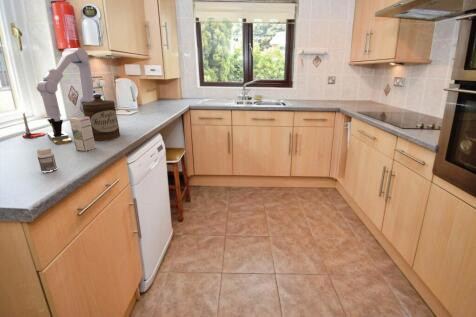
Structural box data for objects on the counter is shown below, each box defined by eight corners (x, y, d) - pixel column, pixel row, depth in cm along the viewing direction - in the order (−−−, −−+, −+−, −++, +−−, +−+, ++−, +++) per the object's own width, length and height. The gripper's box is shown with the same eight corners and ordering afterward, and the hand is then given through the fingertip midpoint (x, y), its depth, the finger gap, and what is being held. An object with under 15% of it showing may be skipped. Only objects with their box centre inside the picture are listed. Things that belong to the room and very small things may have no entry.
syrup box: (96, 148, 125) (90, 116, 120) (85, 152, 120) (78, 118, 115) (86, 147, 127) (80, 115, 122) (75, 150, 122) (68, 118, 117)
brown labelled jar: (98, 143, 133) (89, 96, 126) (83, 138, 141) (74, 94, 134) (125, 136, 144) (119, 93, 137) (110, 132, 152) (103, 92, 145)
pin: (61, 136, 143) (59, 122, 140) (63, 138, 140) (61, 123, 138) (52, 137, 140) (49, 123, 138) (54, 139, 138) (51, 124, 135)
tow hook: (35, 134, 153) (20, 138, 145) (30, 111, 150) (15, 113, 141) (49, 135, 152) (35, 138, 143) (44, 111, 148) (29, 113, 140)
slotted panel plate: (63, 135, 149) (62, 130, 148) (72, 141, 136) (71, 137, 135) (48, 137, 145) (47, 132, 144) (55, 144, 131) (54, 139, 131)
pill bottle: (46, 168, 101) (40, 146, 98) (59, 168, 102) (54, 146, 99) (38, 173, 97) (32, 151, 94) (52, 173, 97) (47, 150, 94)
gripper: (39, 105, 138) (46, 132, 142) (44, 108, 127) (51, 137, 132) (55, 104, 142) (61, 129, 147) (62, 107, 132) (68, 134, 136)
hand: (58, 133), depth 139 cm, fingers closed on pin, 4 cm apart
